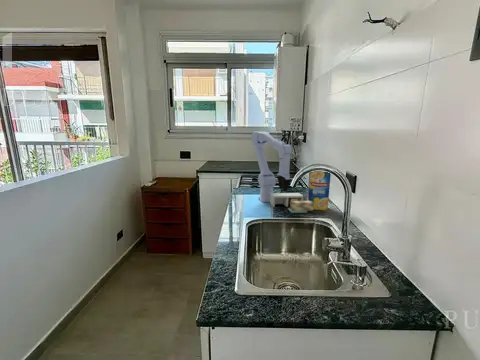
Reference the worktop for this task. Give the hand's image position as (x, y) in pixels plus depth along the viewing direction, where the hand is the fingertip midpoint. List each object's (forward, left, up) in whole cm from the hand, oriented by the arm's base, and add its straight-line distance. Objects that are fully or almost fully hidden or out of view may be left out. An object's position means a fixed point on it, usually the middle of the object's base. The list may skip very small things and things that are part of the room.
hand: (283, 189), depth 154 cm
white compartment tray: (-4, +3, -10) cm, 12 cm away
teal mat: (+7, +6, -10) cm, 14 cm away
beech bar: (+7, +9, -10) cm, 15 cm away
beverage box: (+3, +20, -11) cm, 23 cm away
